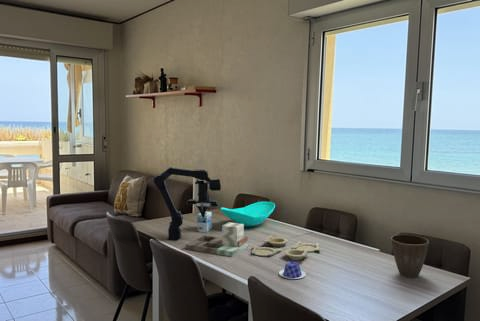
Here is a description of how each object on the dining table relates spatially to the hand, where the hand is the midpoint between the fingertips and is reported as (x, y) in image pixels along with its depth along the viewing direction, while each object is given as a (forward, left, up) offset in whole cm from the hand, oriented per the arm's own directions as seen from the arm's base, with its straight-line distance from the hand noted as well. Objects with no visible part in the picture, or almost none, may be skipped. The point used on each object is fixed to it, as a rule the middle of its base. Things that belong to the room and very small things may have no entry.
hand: (203, 217), depth 224 cm
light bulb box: (-4, +16, -12) cm, 21 cm away
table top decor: (+21, +31, -12) cm, 40 cm away
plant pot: (+105, -40, -12) cm, 113 cm away
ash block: (+21, -16, -10) cm, 28 cm away
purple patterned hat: (+55, -48, -12) cm, 74 cm away
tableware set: (+50, -16, -13) cm, 54 cm away
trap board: (+13, -18, -12) cm, 25 cm away
